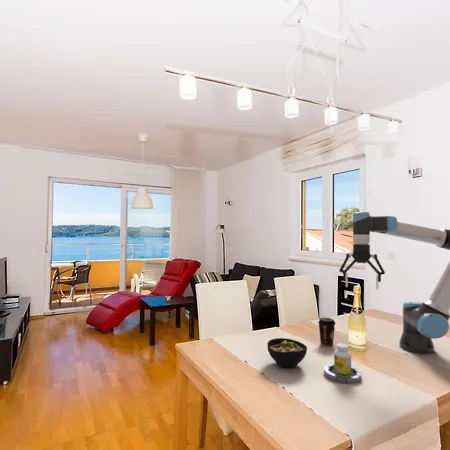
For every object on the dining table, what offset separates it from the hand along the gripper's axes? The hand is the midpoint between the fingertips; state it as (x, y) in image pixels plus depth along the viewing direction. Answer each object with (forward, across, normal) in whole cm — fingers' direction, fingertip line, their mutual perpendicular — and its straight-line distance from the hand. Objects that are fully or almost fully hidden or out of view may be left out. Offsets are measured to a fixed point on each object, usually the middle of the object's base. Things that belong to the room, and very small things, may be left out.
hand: (361, 287), depth 153 cm
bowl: (+32, +30, +28) cm, 52 cm away
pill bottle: (+31, +7, +29) cm, 43 cm away
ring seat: (+32, +7, +29) cm, 44 cm away
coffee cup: (+32, +17, -7) cm, 37 cm away
